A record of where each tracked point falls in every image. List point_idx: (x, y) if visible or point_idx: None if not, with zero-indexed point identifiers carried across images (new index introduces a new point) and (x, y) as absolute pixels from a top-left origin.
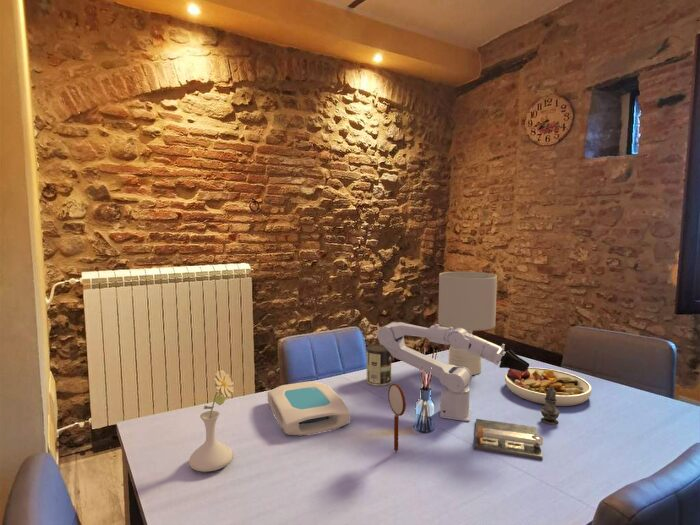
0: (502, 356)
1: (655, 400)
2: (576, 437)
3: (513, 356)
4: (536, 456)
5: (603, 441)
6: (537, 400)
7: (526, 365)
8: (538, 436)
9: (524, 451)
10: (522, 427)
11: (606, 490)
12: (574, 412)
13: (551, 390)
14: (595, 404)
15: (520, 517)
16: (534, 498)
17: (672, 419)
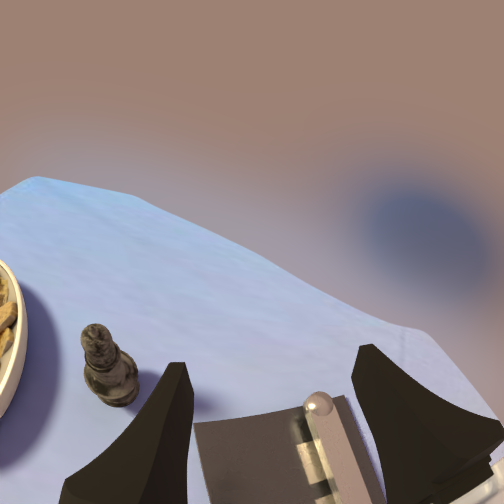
0: (488, 467)
1: (11, 199)
2: (189, 337)
3: (434, 411)
4: (346, 406)
5: (185, 293)
6: (15, 390)
7: (377, 348)
8: (313, 402)
9: (348, 429)
10: (217, 456)
11: (357, 310)
12: (50, 318)
13: (105, 335)
14: (12, 271)
15: (469, 385)
16: (437, 383)
17: (70, 197)
